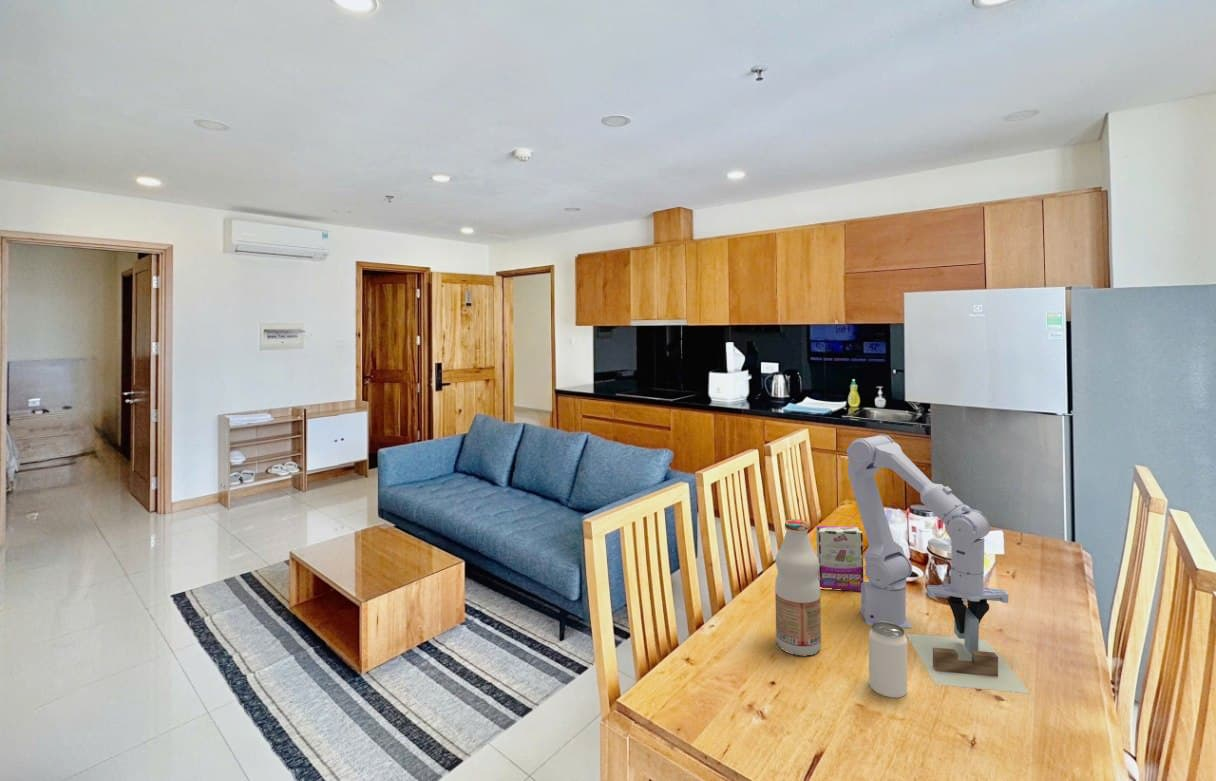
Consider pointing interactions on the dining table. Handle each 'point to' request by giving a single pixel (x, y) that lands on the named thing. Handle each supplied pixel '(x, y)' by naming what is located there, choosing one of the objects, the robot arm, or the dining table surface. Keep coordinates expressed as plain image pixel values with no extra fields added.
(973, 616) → the grey flat block
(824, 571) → the candy bar box
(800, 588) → the fruit juice
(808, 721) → the dining table surface
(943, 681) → the felt mat
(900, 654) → the can
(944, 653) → the walnut slotted plate
